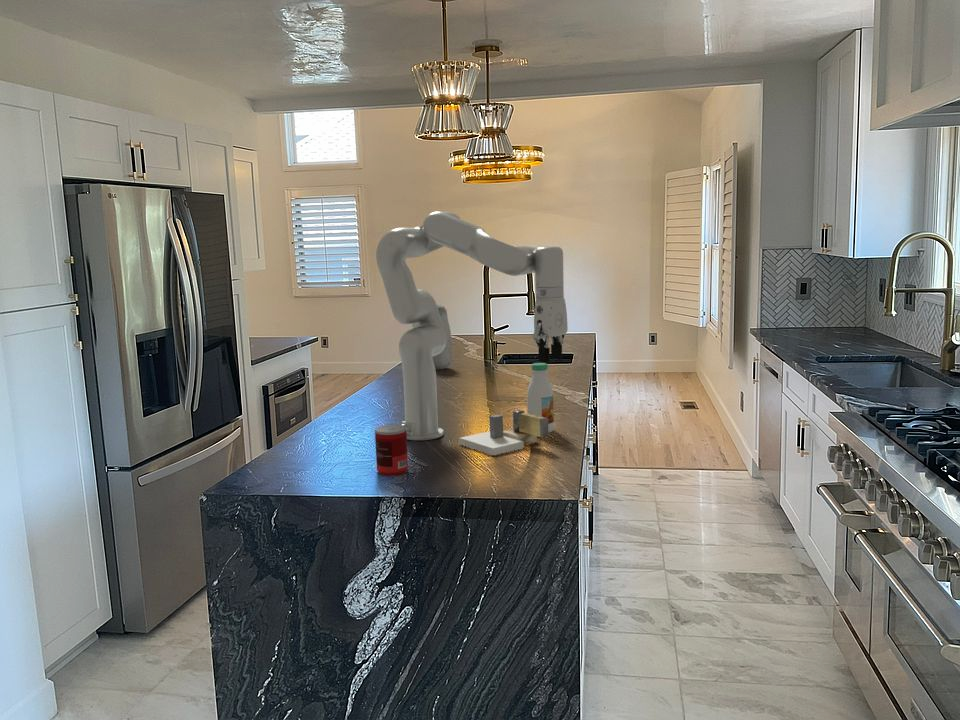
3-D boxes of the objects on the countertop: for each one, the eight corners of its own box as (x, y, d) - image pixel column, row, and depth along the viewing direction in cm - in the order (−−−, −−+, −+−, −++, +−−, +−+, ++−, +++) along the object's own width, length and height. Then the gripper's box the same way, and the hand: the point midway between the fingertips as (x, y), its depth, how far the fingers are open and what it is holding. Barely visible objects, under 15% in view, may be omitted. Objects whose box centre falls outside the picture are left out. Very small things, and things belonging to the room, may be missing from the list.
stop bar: (510, 430, 221) (510, 411, 220) (519, 428, 223) (519, 409, 222) (540, 438, 211) (540, 419, 210) (549, 436, 213) (549, 417, 212)
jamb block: (517, 446, 216) (517, 436, 216) (501, 441, 222) (501, 431, 221) (537, 442, 221) (536, 431, 220) (520, 437, 226) (520, 427, 226)
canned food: (408, 466, 201) (407, 423, 199) (407, 475, 193) (405, 431, 191) (378, 467, 201) (376, 425, 199) (375, 476, 193) (373, 432, 191)
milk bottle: (532, 435, 228) (531, 366, 225) (524, 429, 236) (522, 362, 233) (557, 432, 230) (556, 364, 227) (548, 426, 238) (547, 360, 235)
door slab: (493, 455, 208) (492, 426, 207) (459, 444, 220) (458, 416, 219) (523, 448, 214) (523, 419, 213) (489, 438, 226) (488, 410, 225)
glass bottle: (426, 368, 350) (423, 304, 345) (448, 366, 353) (446, 303, 348) (431, 371, 340) (429, 306, 336) (454, 369, 343) (452, 305, 339)
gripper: (543, 296, 202) (544, 366, 205) (578, 291, 216) (578, 357, 218) (519, 295, 207) (520, 364, 210) (554, 290, 220) (555, 355, 223)
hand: (550, 360), depth 214 cm, fingers open, 5 cm apart
